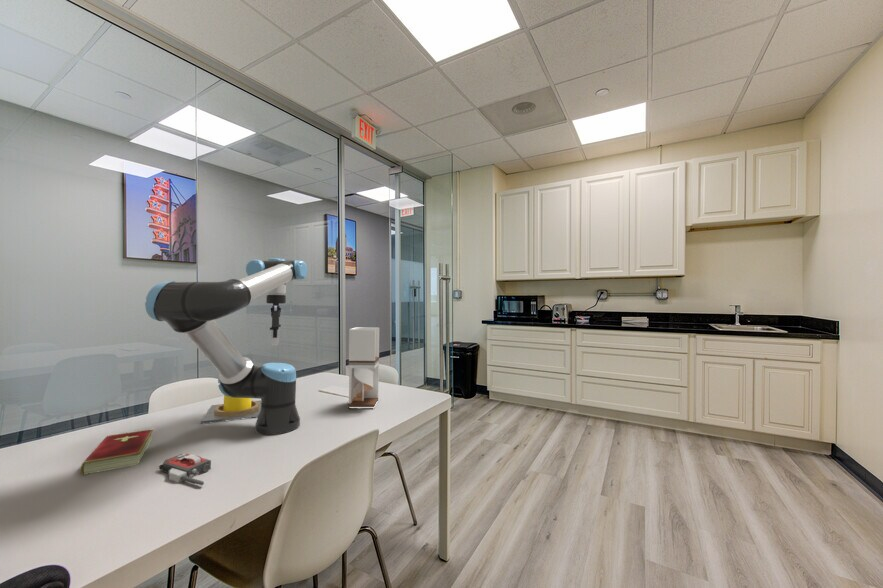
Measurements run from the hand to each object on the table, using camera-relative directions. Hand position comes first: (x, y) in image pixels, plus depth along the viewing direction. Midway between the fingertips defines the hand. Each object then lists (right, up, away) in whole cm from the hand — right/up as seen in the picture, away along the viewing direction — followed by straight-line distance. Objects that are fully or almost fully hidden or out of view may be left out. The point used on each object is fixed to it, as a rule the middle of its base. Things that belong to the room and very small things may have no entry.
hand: (275, 343), depth 149 cm
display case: (+36, -30, +8) cm, 47 cm away
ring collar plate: (-15, -29, -3) cm, 32 cm away
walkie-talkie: (+3, -28, -55) cm, 62 cm away
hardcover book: (-26, -28, -44) cm, 58 cm away
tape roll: (-15, -28, -3) cm, 31 cm away
